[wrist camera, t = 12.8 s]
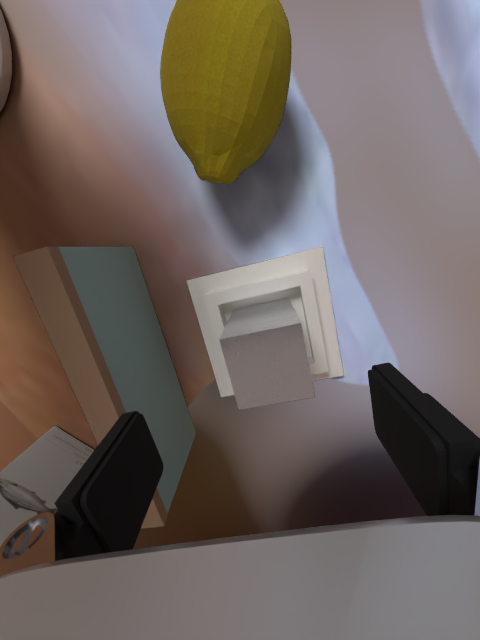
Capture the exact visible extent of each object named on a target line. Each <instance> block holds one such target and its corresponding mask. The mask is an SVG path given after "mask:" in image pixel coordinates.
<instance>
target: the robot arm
mask: <svg viewBox="0 0 480 640" xmlns="http://www.w3.org/2000/svg"><path fill="white" fill-rule="evenodd" d="M11 77H12V52H11V45H10V39H9V33H8V30H7V27H6V23H5V20H4V17H3V14H2V11H1V9H0V112H1V110H2V108H3V107H4V105H5V102H6V99H7V96H8V93H9V90H10V84H11ZM368 378H369V386H370V394H371V402H372V410H373V418H374V426H375V431H376V434H377V436H378V438H379V440H380V441H381V443H382V444H383V446H384V448H385V449H386V451H387V452H388V454H389V456H390V457H391V459H392V460H393V462H394V464H395V465H396V467H397V468H398V470H399V472H400V473H401V475H402V476H403V478H404V479H405V481H406V483H407V484H408V486H409V488H410V489H411V491H412V492H413V494H414V496H415V497H416V499H417V500H418V502H419V504H420V505H421V507H422V508H423V510H424V511H425V513H426V515H427V516H418V517H408V518H398V519H388V520H377V521H366V522H357V523H348V524H339V525H331V526H322V527H313V528H305V529H296V530H287V531H278V532H270V533H262V534H253V535H245V536H236V537H228V538H220V539H212V540H204V541H196V542H187V543H179V544H172V545H164V546H156V547H148V548H140V549H133V547H134V544H135V542H136V539H137V537H138V534H139V531H140V529H141V526H142V524H143V521H144V519H145V516H146V514H147V511H148V509H149V506H150V503H151V501H152V498H153V496H154V493H155V491H156V488H157V486H158V483H159V481H160V478H161V476H162V473H163V468H164V465H163V461H162V459H161V456H160V454H159V452H158V449H157V447H156V444H155V442H154V440H153V437H152V435H151V432H150V430H149V428H148V425H147V423H146V420H145V418H144V416H143V414H140V413H139V412H138V411H133V412H127V413H123V414H122V415H121V416H120V417H119V419H118V420H117V421H116V423H115V424H114V425H113V426H112V428H111V429H110V430H109V432H108V433H107V434H106V436H105V437H104V438H103V440H102V441H101V442H100V444H99V445H98V446H97V448H96V449H95V450H94V452H93V453H92V454H91V455H90V457H89V458H88V459H87V461H86V462H85V463H84V465H83V466H82V467H81V469H80V470H79V471H78V473H77V474H76V475H75V477H74V478H73V479H72V480H71V482H70V483H69V484H68V486H67V487H66V488H65V490H64V491H63V492H62V494H61V495H60V496H59V498H58V499H57V500H56V502H55V503H54V504H55V505H56V507H57V509H58V510H57V512H56V513H55V514H54V515H53V514H52V513H50V512H43V513H40V514H37V515H35V516H33V517H32V518H30V519H28V520H27V521H25V522H24V523H22V524H21V525H20V526H18V527H17V528H16V529H15V530H14V531H13V532H12V533H11V534H10V535H9V536H8V537H7V538H6V539H5V541H4V542H3V543H2V545H1V546H0V640H480V438H478V437H477V436H476V435H475V434H474V433H473V432H472V431H471V430H469V429H468V428H467V427H466V426H465V425H464V424H463V423H461V422H460V421H459V420H458V419H457V418H456V417H455V416H454V415H452V414H451V413H450V412H449V411H448V410H447V409H446V408H444V407H443V406H442V405H441V404H440V403H439V402H438V401H436V400H435V399H434V398H433V397H432V396H431V395H429V394H427V393H422V392H421V391H420V390H419V389H418V388H417V387H416V386H415V385H413V384H412V383H411V382H410V381H409V380H408V379H407V378H406V377H405V376H404V375H402V374H401V373H400V372H399V371H398V370H397V369H396V368H395V367H394V366H393V365H391V364H390V363H384V364H379V365H373V366H372V370H369V371H368Z"/></svg>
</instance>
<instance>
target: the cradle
mask: <svg viewBox="0 0 480 640" xmlns="http://www.w3.org/2000/svg"><path fill="white" fill-rule="evenodd" d="M187 284H188V288H189V291H190V294H191V298H192V301H193V304H194V308H195V311H196V314H197V318H198V321H199V324H200V328H201V331H202V334H203V338H204V341H205V345H206V348H207V351H208V355H209V358H210V361H211V365H212V368H213V371H214V375H215V378H216V381H217V384H218V388H219V391H220V395H221V397H226V396H231V395H234V391H233V388H232V384H231V380H230V377H229V373H228V370H227V366H226V363H225V359H224V355H223V352H222V348H221V345H220V341H219V339H220V337H221V335H222V333H223V330H224V328H225V326H226V324H227V322H228V320H229V318H230V316H231V313H232V311H233V310H234V309H238V308H243V307H247V306H252V305H256V304H261V303H265V302H270V301H274V300H279V299H283V298H289V300H290V302H291V304H292V306H293V308H294V310H295V312H296V314H297V316H298V318H299V320H300V322H301V325H302V330H303V336H304V341H305V346H306V351H307V356H308V362H309V367H310V372H311V377H312V381H316V380H322V379H328V378H333V377H339V376H343V370H342V364H341V358H340V352H339V346H338V340H337V333H336V327H335V321H334V315H333V309H332V303H331V297H330V290H329V284H328V278H327V272H326V266H325V260H324V254H323V247H319V248H315V249H311V250H307V251H303V252H299V253H295V254H291V255H287V256H283V257H279V258H275V259H271V260H267V261H263V262H259V263H255V264H251V265H247V266H243V267H239V268H235V269H231V270H227V271H223V272H219V273H215V274H211V275H207V276H203V277H199V278H195V279H191V280H187Z"/></svg>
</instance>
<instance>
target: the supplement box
mask: <svg viewBox="0 0 480 640" xmlns="http://www.w3.org/2000/svg"><path fill="white" fill-rule="evenodd" d="M93 452H94V449H92V448H90V447H89V446H87V445H85V444H84V443H82V442H80V441H79V440H77V439H76V438H74V437H72V436H71V435H69V434H67V433H66V432H64V431H63V430H61V429H60V428H58V427H57V426H54V427H52V428H51V429H50V430H49V431H47V432H46V433H45V434H44V435H43V436H41V437H40V438H39V439H38V440H37V441H36V442H35V443H33V444H32V445H31V446H30V447H29V448H28V449H27V450H25V451H24V452H23V453H22V454H21V455H19V456H18V457H17V458H16V459H15V460H14V461H12V462H11V463H10V464H9V465H8V466H7V467H5V468H4V469H3V470H2V471H1V472H0V546H1V545H2V543H3V542H4V541H5V539H6V538H7V537H8V536H9V535H10V534H11V533H12V532H13V531H14V530H15V529H16V528H17V527H18V526H20V525H21V524H22V523H24V522H25V521H27V520H28V519H30V518H32V517H33V516H35V515H37V514H40V513H43V512H50V513H52V514H53V515H54V514H55V513H56V512H57V510H58V509H57V507H56V505H55V504H54V503H55V502H56V500H57V499H58V498H59V496H60V495H61V494H62V492H63V491H64V490H65V488H66V487H67V486H68V484H69V483H70V482H71V480H72V479H73V478H74V477H75V475H76V474H77V473H78V471H79V470H80V469H81V467H82V466H83V465H84V463H85V462H86V461H87V459H88V458H89V457H90V455H91V454H92V453H93Z"/></svg>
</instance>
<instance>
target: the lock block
mask: <svg viewBox="0 0 480 640" xmlns="http://www.w3.org/2000/svg"><path fill="white" fill-rule="evenodd" d="M219 341H220V345H221V348H222V352H223V355H224V359H225V363H226V366H227V370H228V373H229V377H230V380H231V384H232V388H233V391H234V395H235V398H236V402H237V406H238V409H239V410H240V409H247V408H253V407H259V406H265V405H271V404H277V403H283V402H289V401H296V400H302V399H308V398H313V397H315V393H314V388H313V382H312V377H311V372H310V367H309V362H308V356H307V351H306V346H305V341H304V336H303V330H302V325H301V322H300V320H299V318H298V316H297V314H296V312H295V310H294V308H293V306H292V304H291V302H290V300H289V298H283V299H279V300H274V301H270V302H265V303H261V304H256V305H252V306H247V307H243V308H238V309H234V310H233V311H232V313H231V316H230V318H229V320H228V322H227V324H226V326H225V328H224V330H223V333H222V335H221V337H220V339H219Z"/></svg>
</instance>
